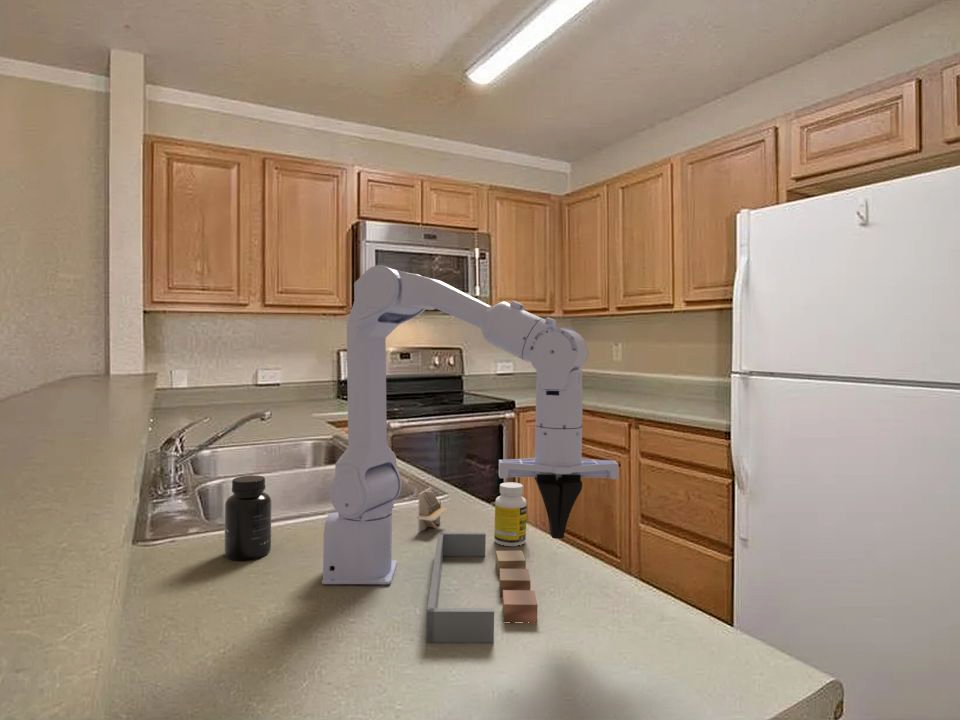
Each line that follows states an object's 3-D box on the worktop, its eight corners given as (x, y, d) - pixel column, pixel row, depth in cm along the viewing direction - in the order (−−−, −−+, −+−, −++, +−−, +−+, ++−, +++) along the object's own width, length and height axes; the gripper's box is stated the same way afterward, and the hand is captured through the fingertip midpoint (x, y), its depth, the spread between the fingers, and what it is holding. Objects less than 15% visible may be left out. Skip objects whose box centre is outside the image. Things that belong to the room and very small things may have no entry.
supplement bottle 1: (214, 557, 87) (214, 480, 86) (247, 543, 93) (248, 471, 93) (248, 564, 84) (248, 485, 84) (280, 549, 90) (281, 475, 90)
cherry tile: (503, 625, 67) (504, 604, 67) (502, 609, 71) (502, 590, 71) (537, 625, 67) (537, 604, 67) (533, 610, 71) (534, 590, 71)
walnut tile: (500, 598, 74) (500, 580, 74) (499, 586, 78) (499, 568, 78) (530, 599, 74) (530, 580, 74) (528, 586, 78) (528, 568, 78)
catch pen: (426, 642, 62) (426, 611, 62) (438, 554, 89) (438, 532, 89) (493, 642, 63) (494, 611, 63) (485, 554, 90) (485, 532, 90)
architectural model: (448, 528, 104) (448, 488, 104) (433, 539, 98) (433, 497, 97) (431, 526, 105) (431, 486, 105) (415, 537, 99) (415, 495, 99)
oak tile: (498, 577, 81) (498, 560, 81) (495, 567, 85) (495, 550, 85) (525, 577, 81) (525, 560, 81) (521, 566, 85) (522, 550, 85)
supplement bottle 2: (524, 548, 92) (524, 489, 92) (491, 546, 94) (492, 487, 93) (527, 538, 98) (528, 482, 98) (497, 535, 99) (498, 480, 99)
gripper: (501, 430, 65) (500, 546, 65) (626, 431, 65) (624, 547, 65) (498, 422, 72) (496, 527, 72) (610, 423, 72) (608, 528, 72)
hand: (556, 535), depth 69 cm, fingers closed
